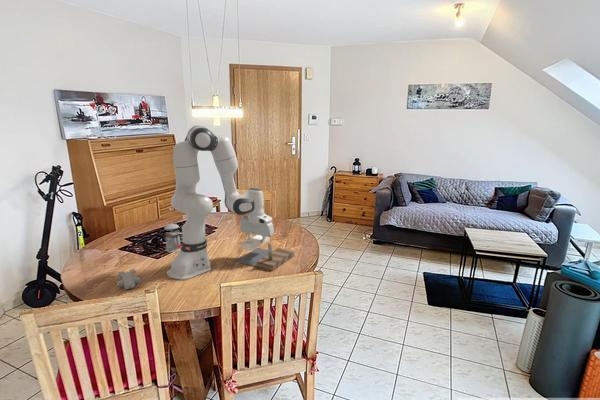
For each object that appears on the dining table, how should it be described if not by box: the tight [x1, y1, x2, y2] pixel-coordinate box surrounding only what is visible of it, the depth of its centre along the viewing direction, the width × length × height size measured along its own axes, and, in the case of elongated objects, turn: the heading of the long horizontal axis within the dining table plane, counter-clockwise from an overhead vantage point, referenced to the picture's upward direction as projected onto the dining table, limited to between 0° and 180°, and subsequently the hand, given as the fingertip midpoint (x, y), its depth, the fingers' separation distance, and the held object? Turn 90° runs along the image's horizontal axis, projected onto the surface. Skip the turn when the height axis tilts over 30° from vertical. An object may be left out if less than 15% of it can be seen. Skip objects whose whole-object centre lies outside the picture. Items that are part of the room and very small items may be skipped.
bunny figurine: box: [116, 268, 141, 290], centre depth 158 cm, size 10×5×15 cm
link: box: [241, 234, 271, 252], centre depth 187 cm, size 18×6×3 cm, turn 152°
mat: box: [234, 247, 274, 267], centre depth 189 cm, size 22×13×1 cm, turn 152°
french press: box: [163, 207, 182, 253], centre depth 198 cm, size 10×12×25 cm
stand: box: [256, 242, 295, 272], centre depth 182 cm, size 22×10×12 cm, turn 152°
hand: (257, 241), depth 188 cm, fingers closed on link, 6 cm apart
